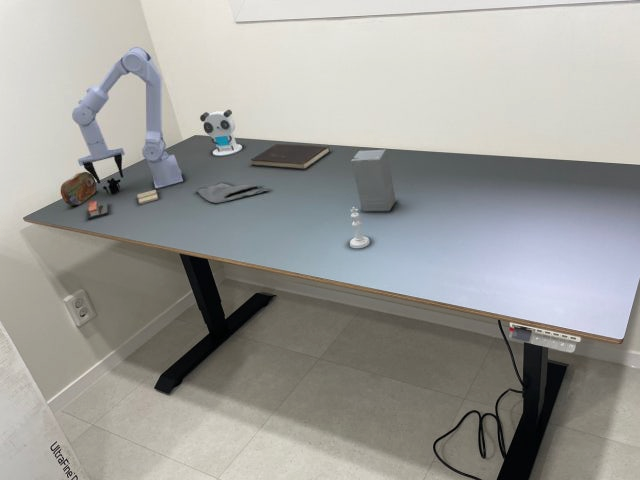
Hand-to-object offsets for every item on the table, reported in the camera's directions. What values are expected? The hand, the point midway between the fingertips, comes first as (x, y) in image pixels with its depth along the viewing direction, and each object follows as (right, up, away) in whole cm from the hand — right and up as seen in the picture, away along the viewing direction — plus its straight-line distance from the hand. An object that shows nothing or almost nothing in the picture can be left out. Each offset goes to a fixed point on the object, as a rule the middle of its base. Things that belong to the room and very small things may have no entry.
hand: (110, 179), depth 195 cm
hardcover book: (+61, +8, +6) cm, 62 cm away
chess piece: (+87, -25, -53) cm, 105 cm away
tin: (-10, -7, +1) cm, 12 cm away
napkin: (+16, -8, -7) cm, 19 cm away
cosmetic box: (+92, -14, -37) cm, 100 cm away
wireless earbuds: (+1, -4, +3) cm, 5 cm away
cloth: (+44, -7, -13) cm, 46 cm away
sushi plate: (+1, -13, -11) cm, 17 cm away
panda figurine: (+34, +16, +25) cm, 45 cm away
